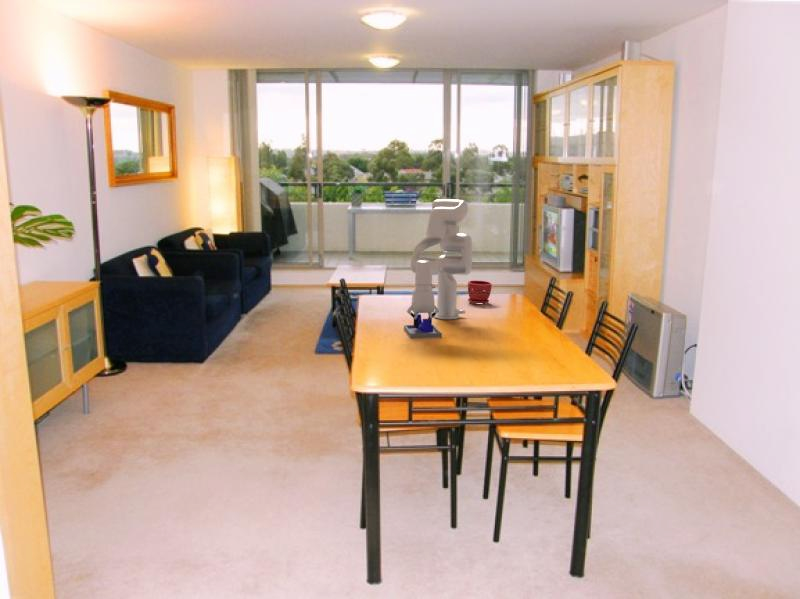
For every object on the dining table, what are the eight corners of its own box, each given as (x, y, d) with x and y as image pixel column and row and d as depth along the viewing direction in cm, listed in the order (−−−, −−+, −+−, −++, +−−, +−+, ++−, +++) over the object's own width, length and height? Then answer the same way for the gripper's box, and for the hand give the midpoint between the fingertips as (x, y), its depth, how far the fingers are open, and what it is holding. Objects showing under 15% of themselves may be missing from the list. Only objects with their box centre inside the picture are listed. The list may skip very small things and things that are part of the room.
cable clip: (433, 332, 322) (433, 319, 321) (423, 332, 321) (424, 319, 319) (422, 326, 333) (422, 313, 332) (413, 327, 332) (413, 314, 330)
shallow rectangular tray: (433, 328, 337) (433, 324, 337) (441, 337, 320) (441, 333, 319) (403, 329, 335) (403, 325, 335) (410, 338, 318) (410, 334, 317)
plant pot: (468, 305, 396) (469, 283, 394) (466, 300, 409) (466, 280, 407) (492, 305, 396) (493, 284, 394) (489, 301, 409) (489, 280, 407)
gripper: (440, 286, 329) (439, 324, 332) (403, 286, 326) (402, 325, 329) (443, 289, 321) (442, 328, 325) (406, 289, 319) (405, 329, 322)
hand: (422, 326), depth 327 cm, fingers closed on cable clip, 5 cm apart
